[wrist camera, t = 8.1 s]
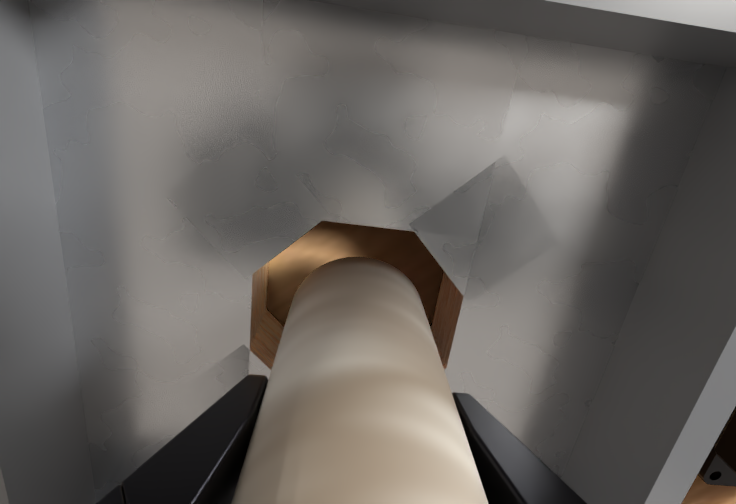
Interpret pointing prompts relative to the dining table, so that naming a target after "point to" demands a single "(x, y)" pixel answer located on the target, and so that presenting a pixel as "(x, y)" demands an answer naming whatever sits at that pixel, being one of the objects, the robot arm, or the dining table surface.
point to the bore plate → (347, 195)
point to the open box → (629, 355)
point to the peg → (358, 400)
